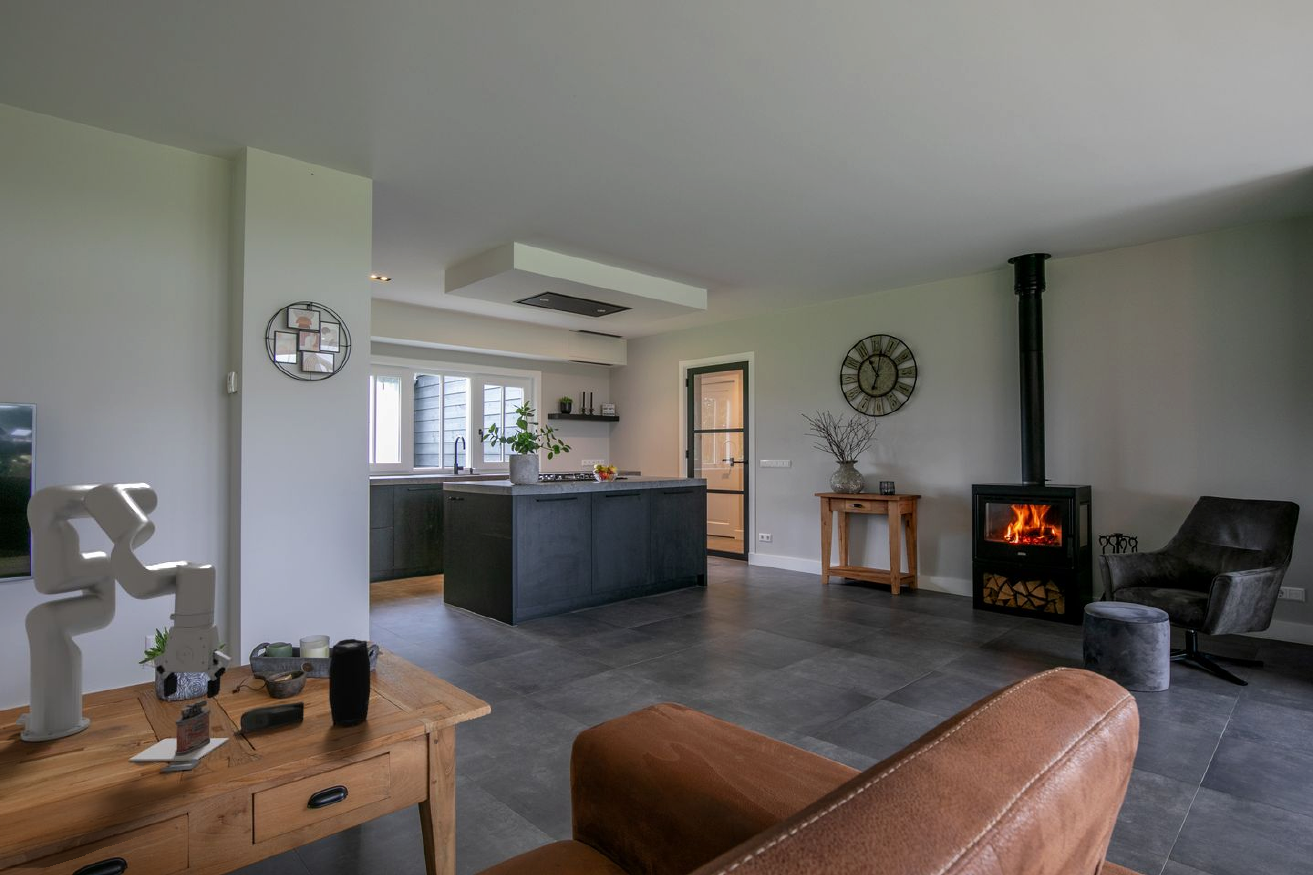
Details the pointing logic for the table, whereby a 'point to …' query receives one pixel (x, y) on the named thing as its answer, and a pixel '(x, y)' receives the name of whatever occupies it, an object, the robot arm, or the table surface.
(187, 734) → the lighter
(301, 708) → the dark elongated piece
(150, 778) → the table surface
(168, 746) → the paper
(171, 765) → the plate
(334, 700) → the portable speaker
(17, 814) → the table surface
